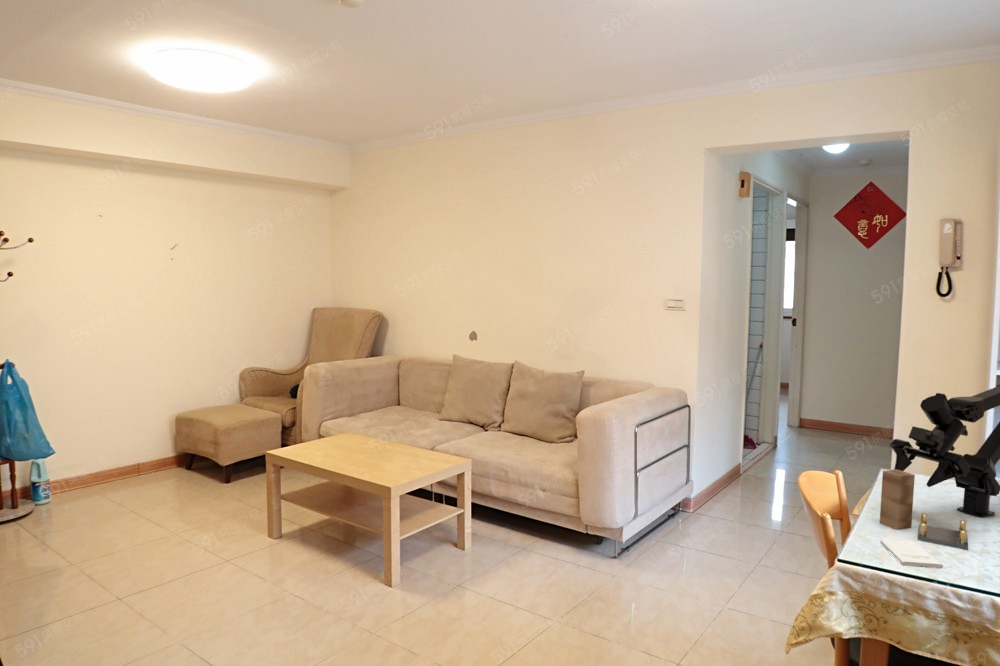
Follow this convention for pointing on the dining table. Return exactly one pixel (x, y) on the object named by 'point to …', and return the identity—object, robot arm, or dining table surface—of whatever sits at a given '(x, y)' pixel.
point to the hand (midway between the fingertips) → (910, 480)
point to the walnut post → (897, 499)
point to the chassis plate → (943, 534)
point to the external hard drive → (911, 553)
